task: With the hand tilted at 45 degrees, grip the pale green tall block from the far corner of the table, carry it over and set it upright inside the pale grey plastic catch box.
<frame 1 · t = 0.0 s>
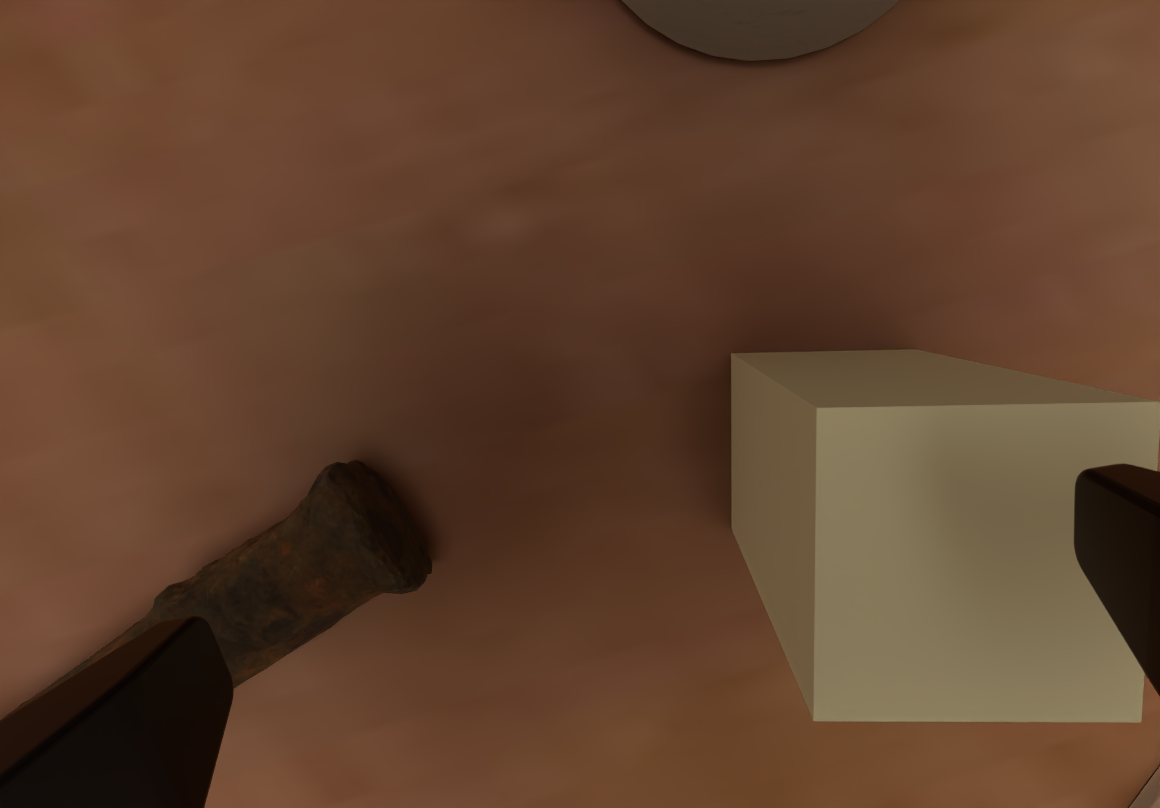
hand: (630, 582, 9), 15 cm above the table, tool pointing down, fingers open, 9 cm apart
pale green tall block: (821, 440, 24), on the table
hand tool: (176, 673, 27), on the table
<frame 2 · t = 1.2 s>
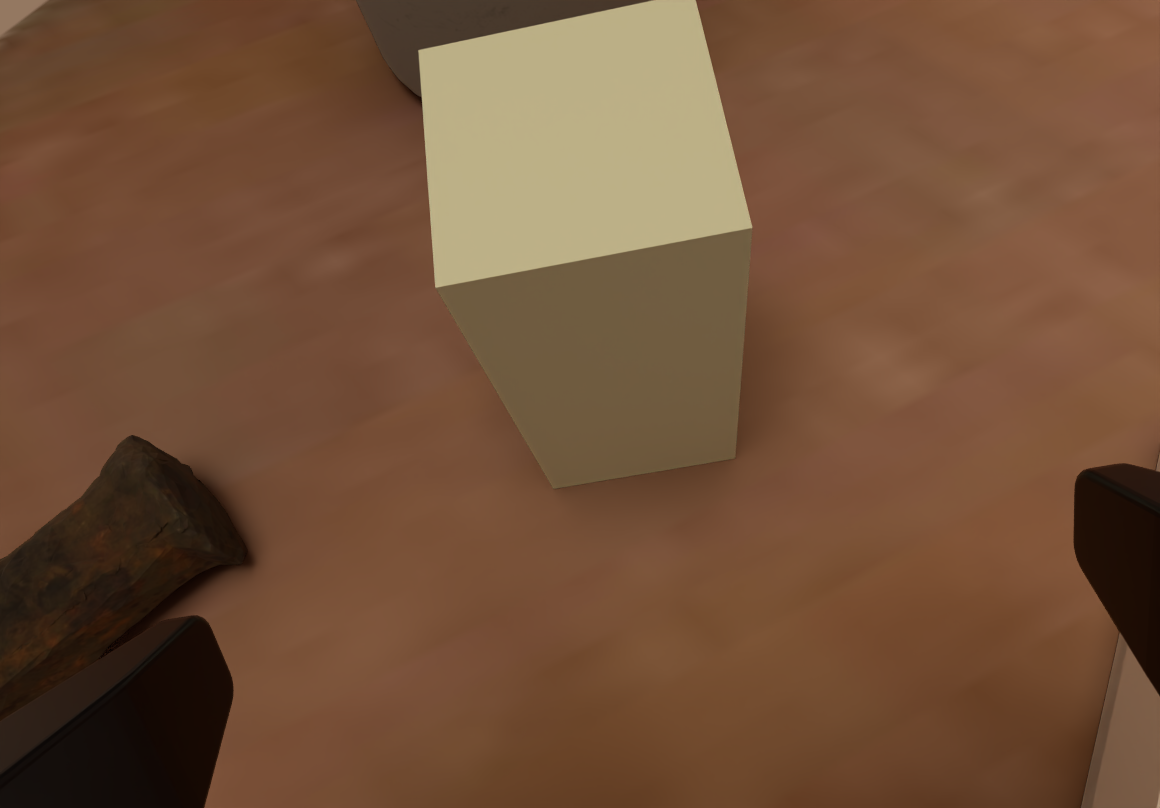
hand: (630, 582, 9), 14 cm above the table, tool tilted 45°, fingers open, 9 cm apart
pale green tall block: (629, 390, 24), on the table
water bottle: (524, 19, 31), on the table
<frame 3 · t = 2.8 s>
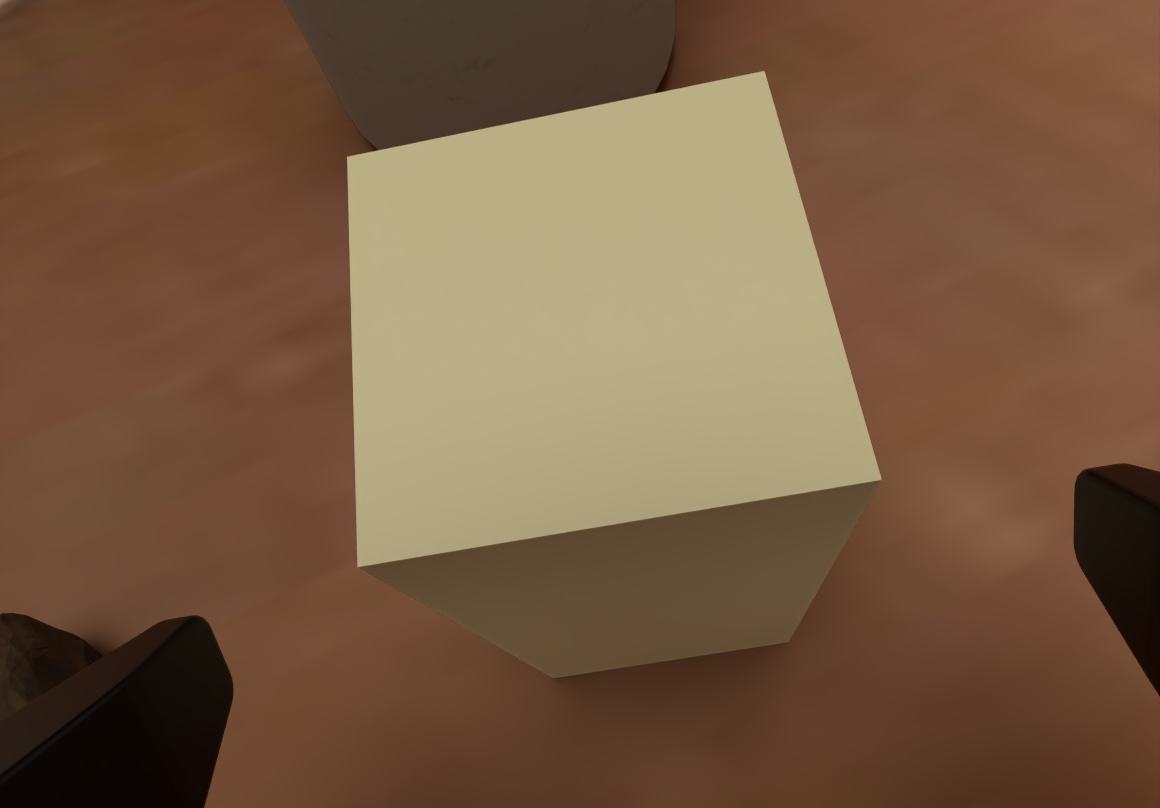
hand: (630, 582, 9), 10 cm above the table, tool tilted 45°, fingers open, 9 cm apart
pale green tall block: (650, 544, 19), on the table
water bottle: (517, 63, 25), on the table
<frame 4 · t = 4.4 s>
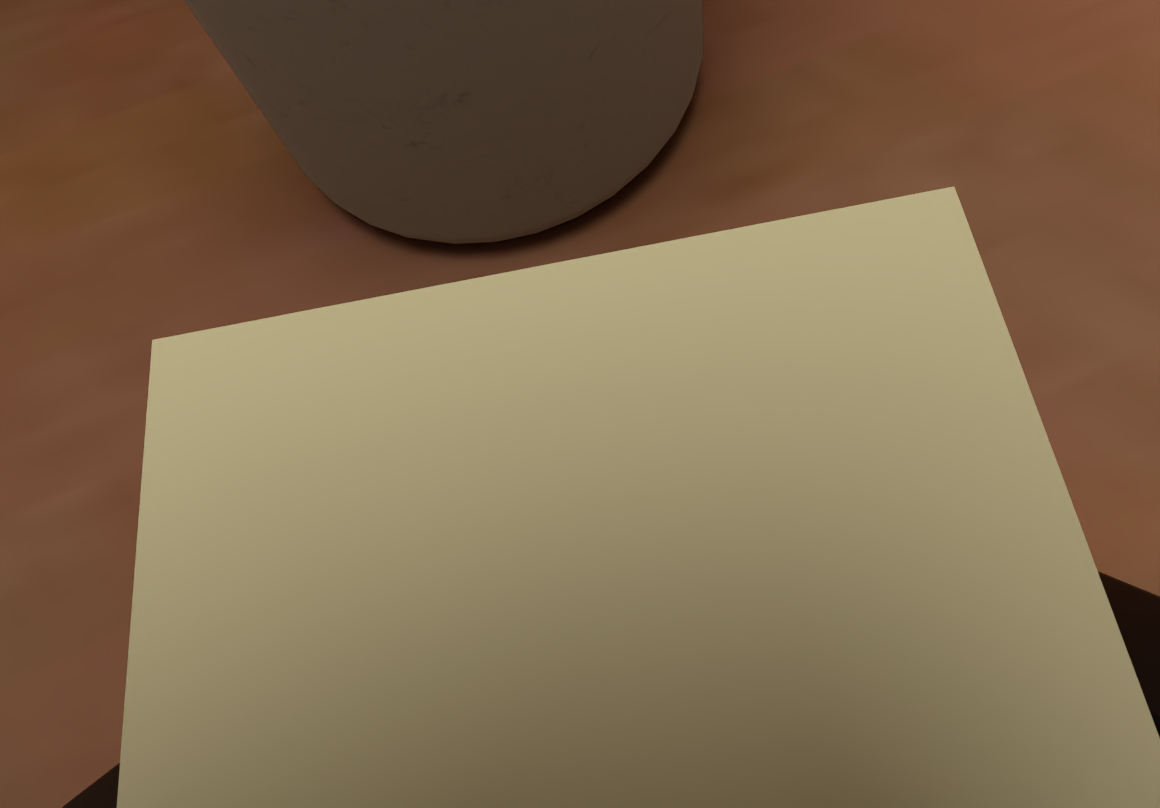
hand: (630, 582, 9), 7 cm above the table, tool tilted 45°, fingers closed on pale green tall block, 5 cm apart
pale green tall block: (678, 742, 14), on the table, touching gripper
water bottle: (504, 85, 21), on the table
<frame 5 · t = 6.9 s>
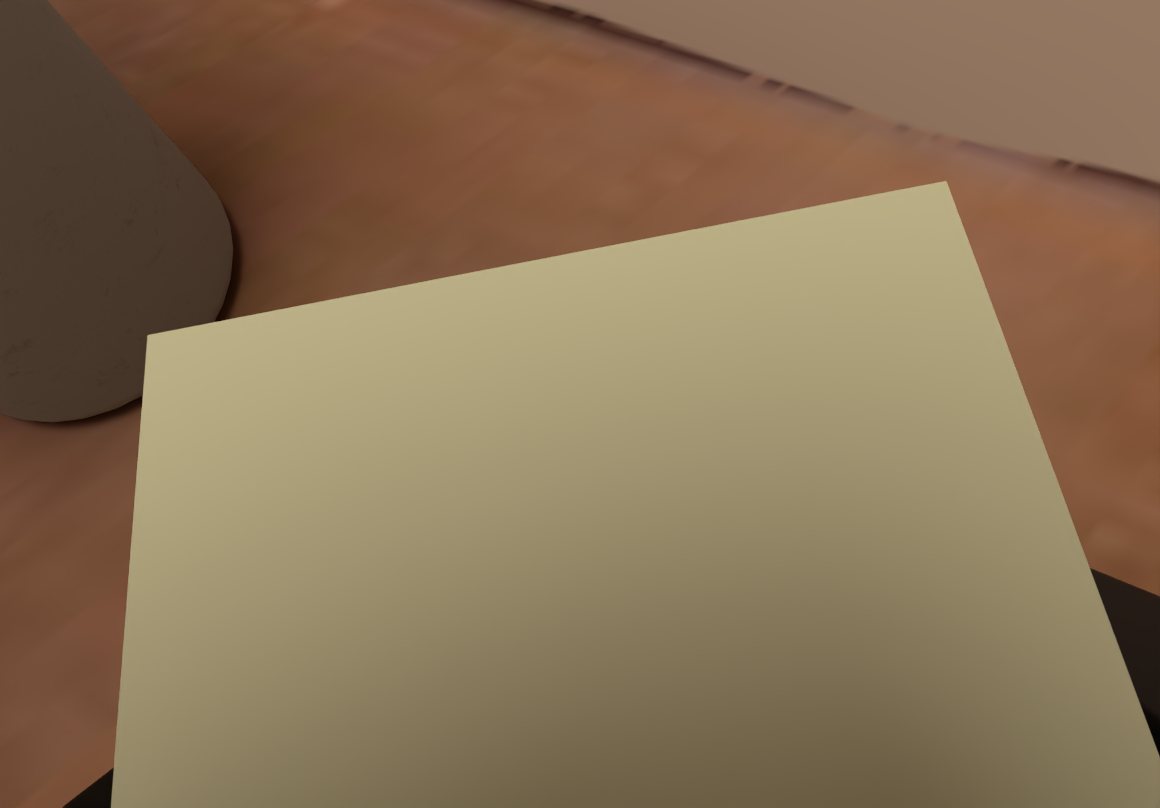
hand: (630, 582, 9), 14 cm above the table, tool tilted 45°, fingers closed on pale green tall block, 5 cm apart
pale green tall block: (675, 739, 14), point 7 cm above the table, touching gripper
water bottle: (112, 290, 29), on the table
when the fingers open (9 cm above the table, at t = 9.6 s): pale green tall block drops 1 cm, resting on catch box.
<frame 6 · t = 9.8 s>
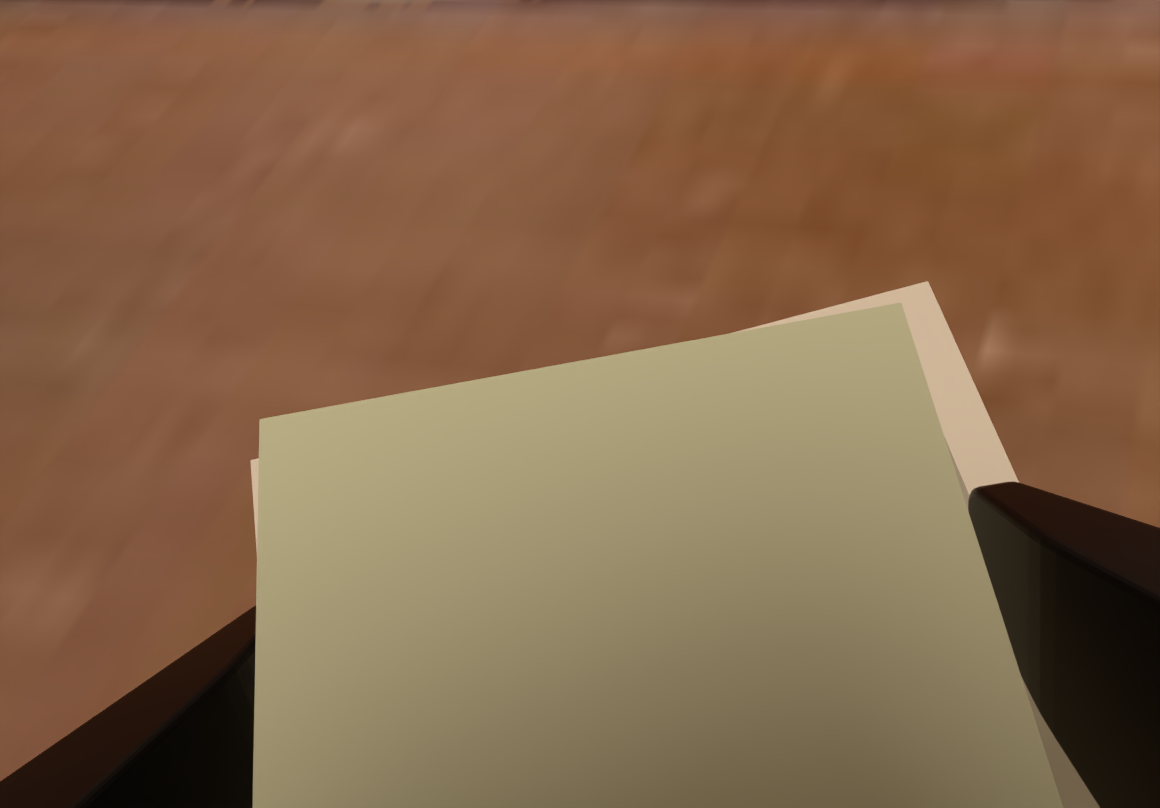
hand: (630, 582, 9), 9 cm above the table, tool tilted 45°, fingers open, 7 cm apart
pale green tall block: (679, 741, 16), point 1 cm above the table, touching catch box
catch box: (681, 743, 16), on the table
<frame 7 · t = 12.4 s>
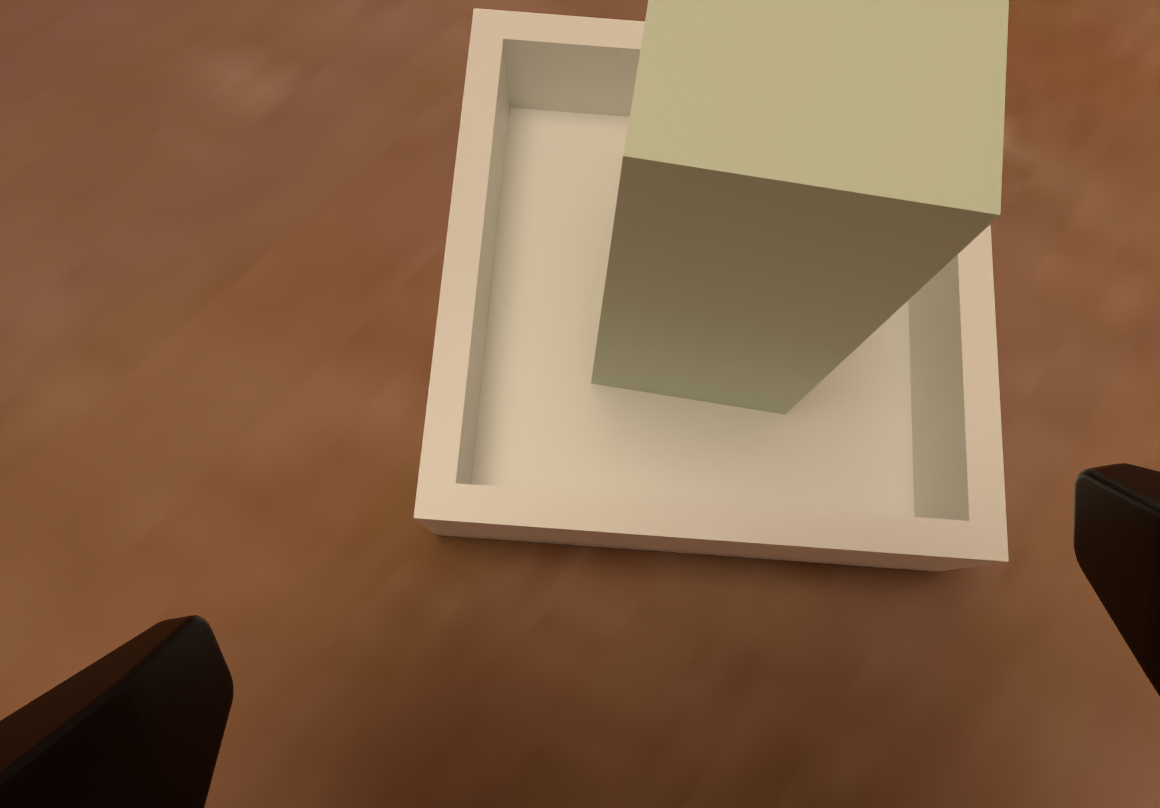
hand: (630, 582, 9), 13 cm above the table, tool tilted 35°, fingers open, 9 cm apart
pale green tall block: (699, 307, 23), point 1 cm above the table, touching catch box
catch box: (696, 316, 23), on the table
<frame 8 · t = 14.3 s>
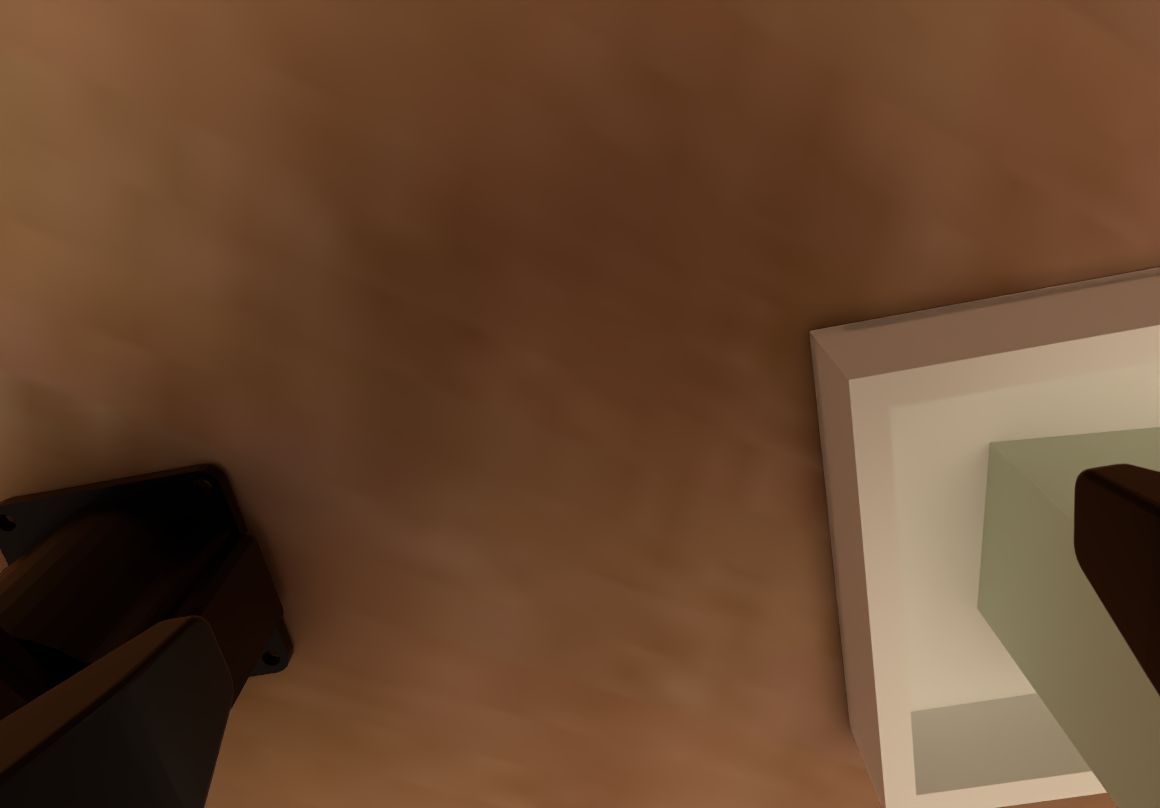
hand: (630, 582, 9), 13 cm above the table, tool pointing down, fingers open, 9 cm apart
pale green tall block: (1080, 520, 23), point 1 cm above the table, touching catch box
catch box: (1067, 509, 23), on the table
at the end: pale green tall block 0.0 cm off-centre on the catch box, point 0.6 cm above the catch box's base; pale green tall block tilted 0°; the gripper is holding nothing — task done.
